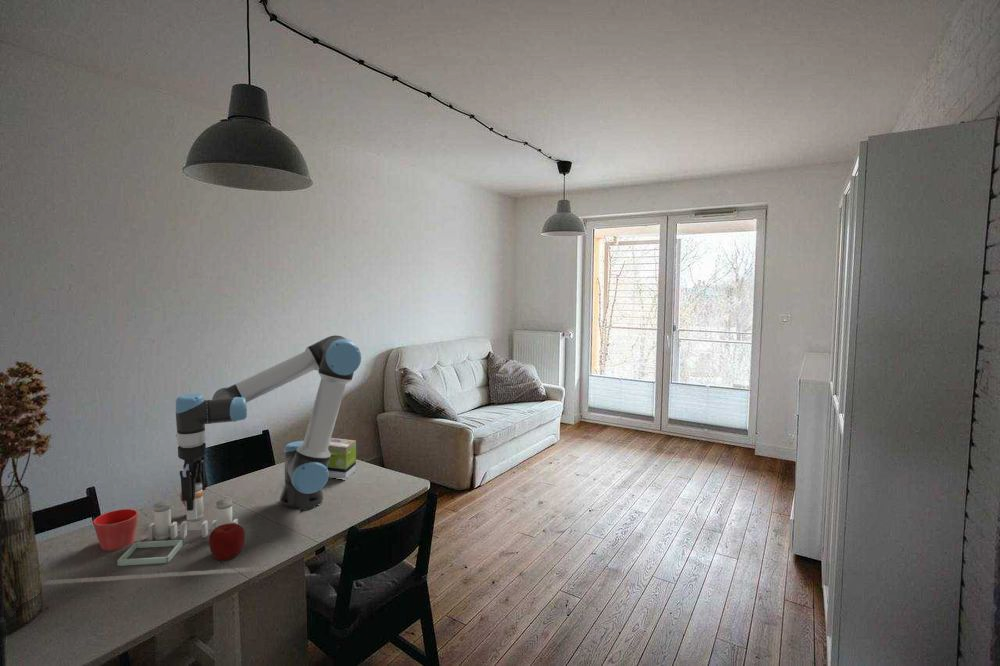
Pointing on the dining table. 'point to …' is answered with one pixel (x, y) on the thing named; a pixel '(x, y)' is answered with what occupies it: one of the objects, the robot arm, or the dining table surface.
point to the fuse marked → (198, 502)
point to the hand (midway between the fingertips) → (195, 514)
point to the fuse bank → (187, 532)
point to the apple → (226, 541)
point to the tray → (155, 560)
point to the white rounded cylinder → (224, 511)
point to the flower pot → (116, 528)
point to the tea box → (341, 457)
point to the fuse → (162, 520)
